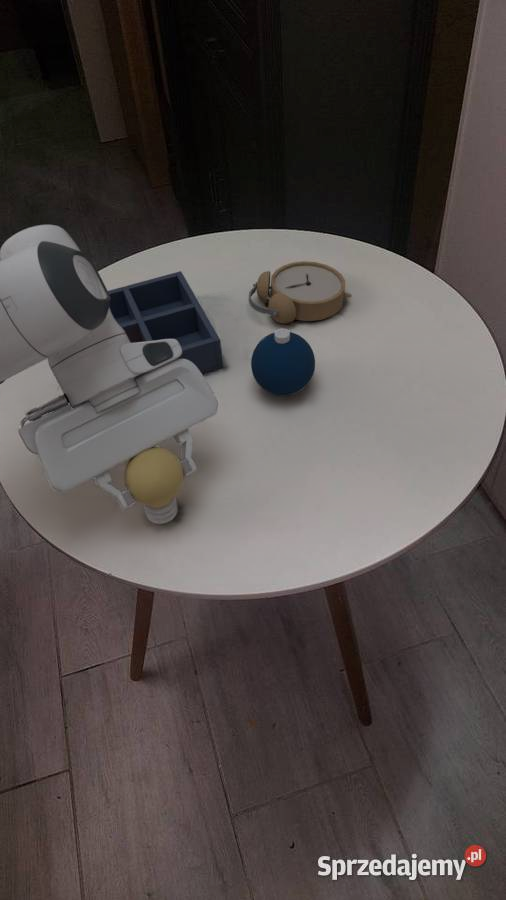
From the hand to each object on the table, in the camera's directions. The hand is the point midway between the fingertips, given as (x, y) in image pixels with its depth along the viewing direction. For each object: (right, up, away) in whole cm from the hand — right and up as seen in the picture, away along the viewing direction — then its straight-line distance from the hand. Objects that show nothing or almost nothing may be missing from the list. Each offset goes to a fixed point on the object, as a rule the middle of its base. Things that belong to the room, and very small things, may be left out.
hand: (160, 489), depth 75 cm
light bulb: (0, -3, +5) cm, 6 cm away
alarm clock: (+17, +27, +29) cm, 43 cm away
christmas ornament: (+14, +13, +18) cm, 26 cm away
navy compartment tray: (-5, +19, +24) cm, 32 cm away
